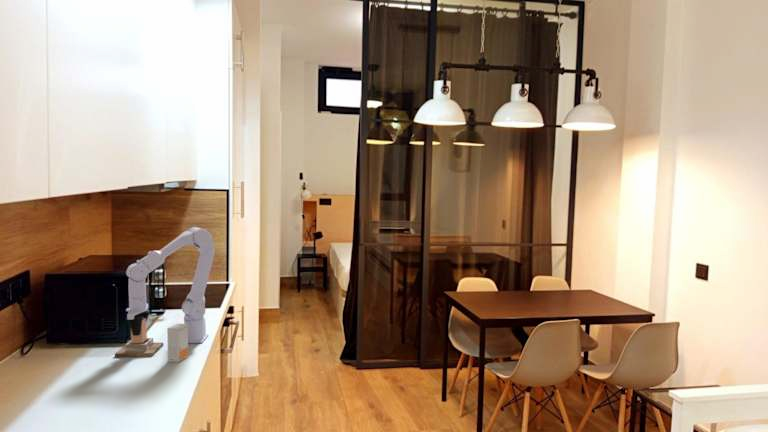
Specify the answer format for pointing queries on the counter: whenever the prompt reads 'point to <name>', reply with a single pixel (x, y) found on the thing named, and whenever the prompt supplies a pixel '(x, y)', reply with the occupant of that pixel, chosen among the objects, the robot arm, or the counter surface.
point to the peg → (142, 336)
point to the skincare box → (177, 342)
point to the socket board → (139, 349)
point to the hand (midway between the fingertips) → (139, 333)
